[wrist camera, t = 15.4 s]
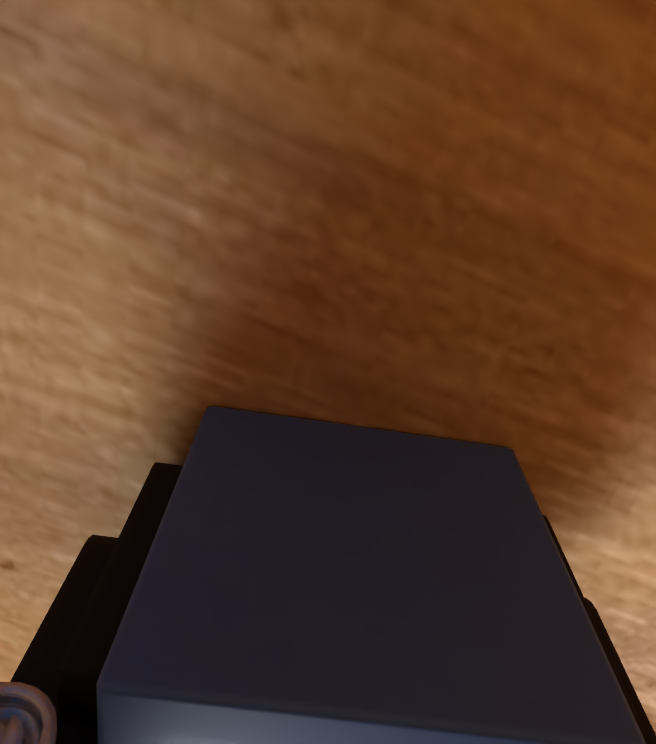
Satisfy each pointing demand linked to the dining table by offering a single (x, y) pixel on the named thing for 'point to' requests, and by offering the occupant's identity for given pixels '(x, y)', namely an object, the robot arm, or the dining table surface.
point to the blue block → (354, 600)
